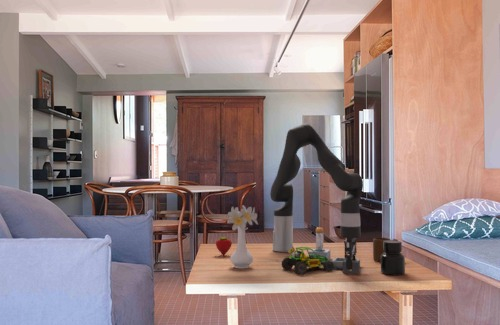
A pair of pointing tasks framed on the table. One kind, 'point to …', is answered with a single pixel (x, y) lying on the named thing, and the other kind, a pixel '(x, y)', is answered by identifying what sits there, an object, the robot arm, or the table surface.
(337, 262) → the tray
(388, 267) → the ink bottle
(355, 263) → the block
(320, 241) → the pin
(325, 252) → the socket
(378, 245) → the mug
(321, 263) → the motor vehicle
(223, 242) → the strawberry
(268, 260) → the table surface
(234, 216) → the flower vase
